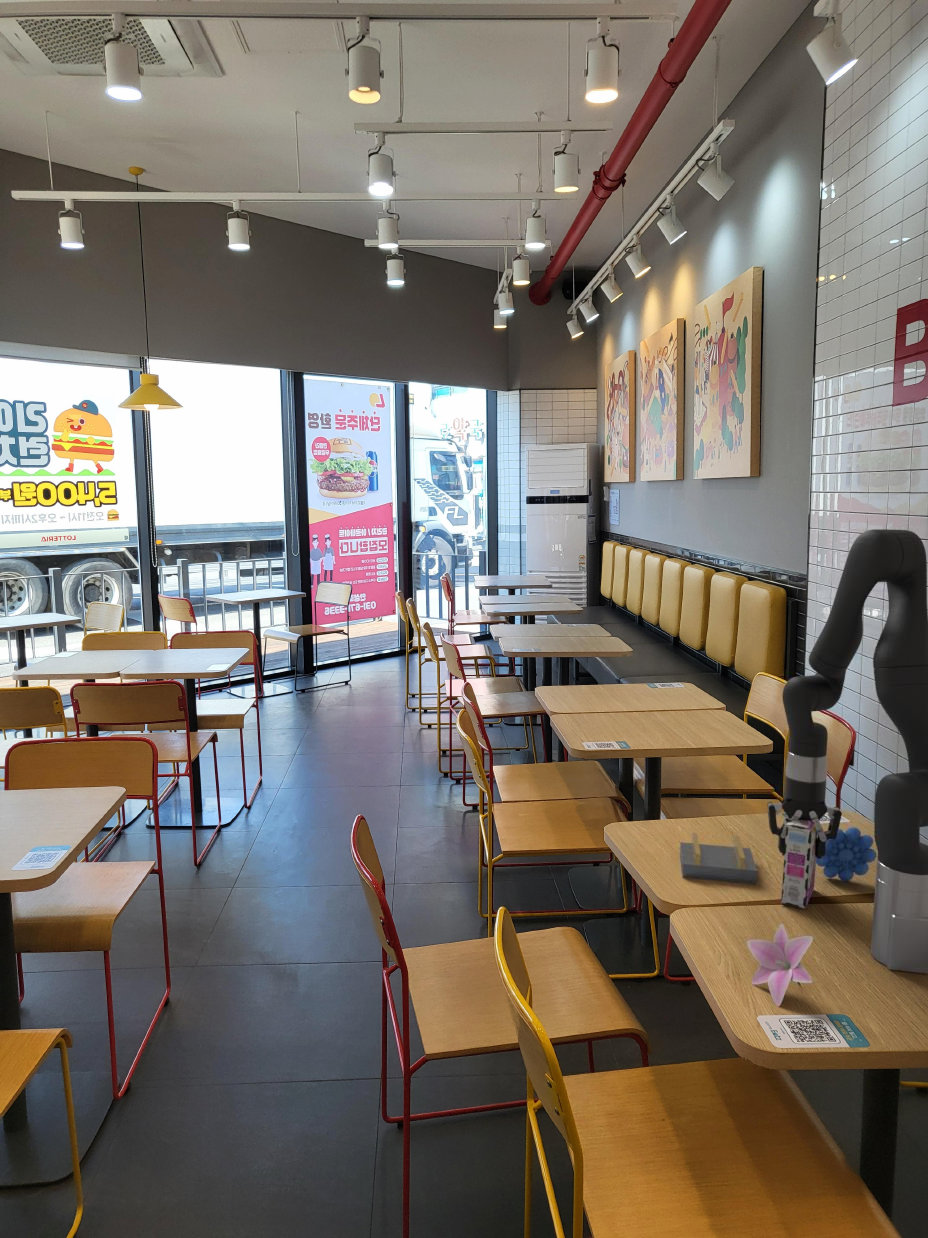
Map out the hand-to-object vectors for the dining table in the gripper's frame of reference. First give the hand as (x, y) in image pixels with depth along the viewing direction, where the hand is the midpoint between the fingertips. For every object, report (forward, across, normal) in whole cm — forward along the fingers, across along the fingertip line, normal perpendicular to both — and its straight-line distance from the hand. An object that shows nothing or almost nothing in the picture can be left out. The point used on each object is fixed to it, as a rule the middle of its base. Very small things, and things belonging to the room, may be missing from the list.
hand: (801, 855), depth 165 cm
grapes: (+9, +11, +11) cm, 18 cm away
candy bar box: (+9, 0, 0) cm, 9 cm away
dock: (+9, -15, +10) cm, 20 cm away
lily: (+9, -9, -35) cm, 38 cm away
